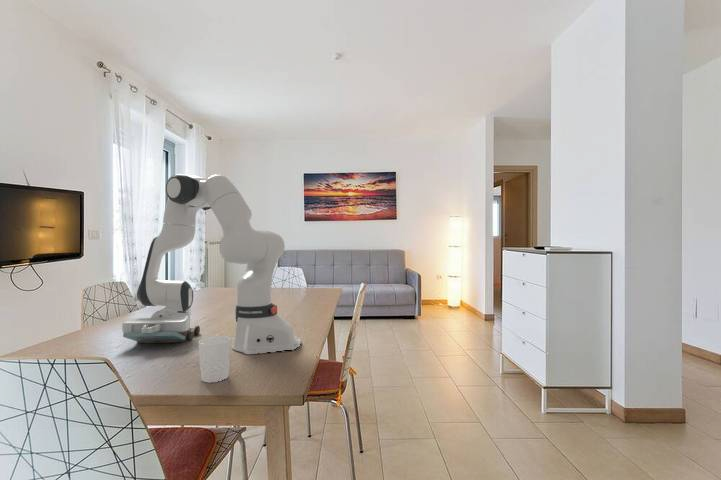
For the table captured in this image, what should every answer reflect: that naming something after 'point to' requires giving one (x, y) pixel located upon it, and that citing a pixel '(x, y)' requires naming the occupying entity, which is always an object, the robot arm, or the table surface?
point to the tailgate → (154, 336)
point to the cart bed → (187, 334)
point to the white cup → (214, 358)
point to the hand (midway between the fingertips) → (146, 331)
